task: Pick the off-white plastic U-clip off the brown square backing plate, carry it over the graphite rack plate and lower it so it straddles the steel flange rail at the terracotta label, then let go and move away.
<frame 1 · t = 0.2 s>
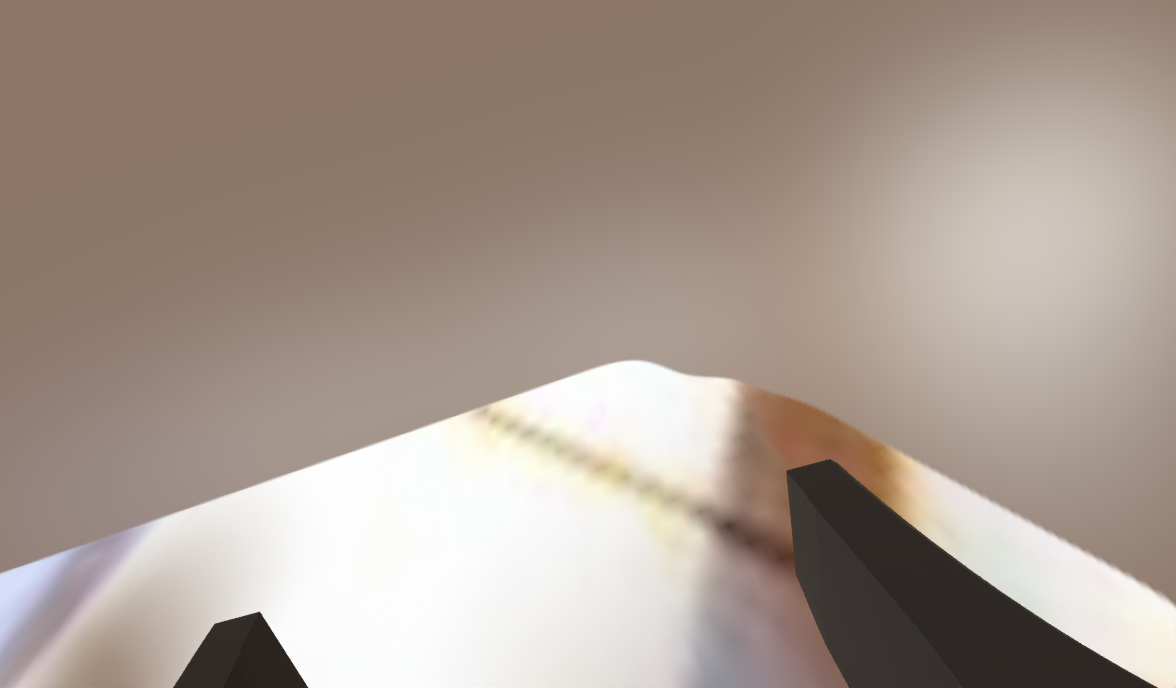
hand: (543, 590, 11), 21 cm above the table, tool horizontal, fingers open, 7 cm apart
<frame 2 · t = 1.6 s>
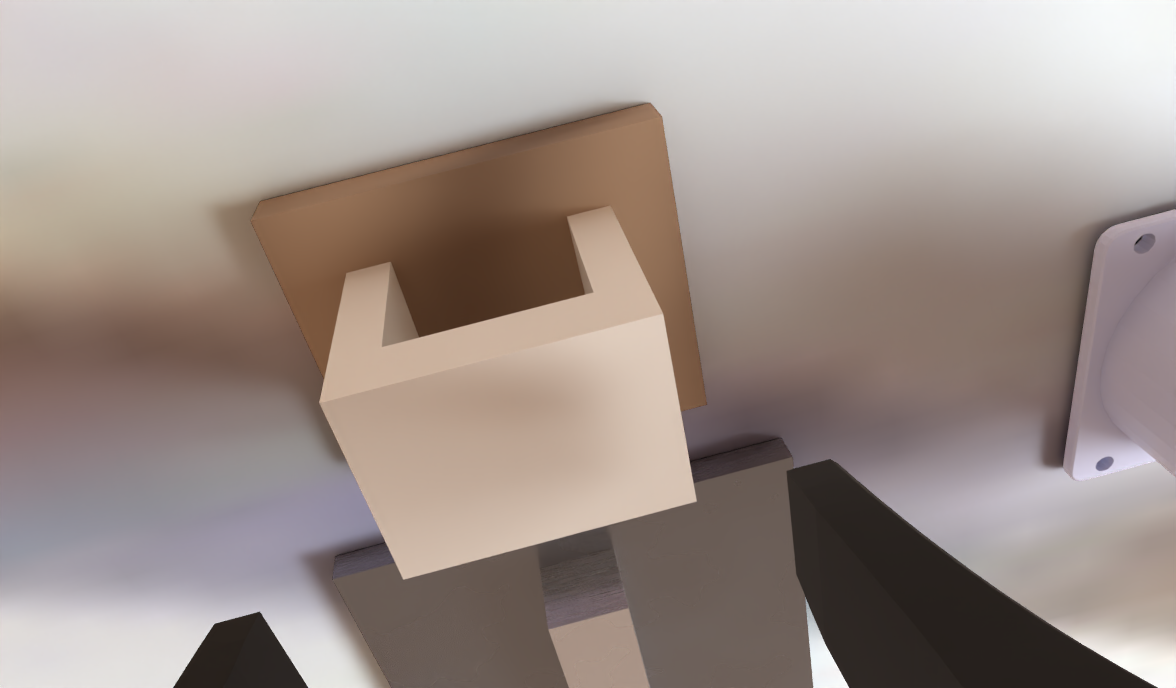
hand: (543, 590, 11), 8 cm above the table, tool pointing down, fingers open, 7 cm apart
brown square backing plate: (501, 301, 18), on the table
u clip: (504, 323, 17), point 1 cm above the table, touching brown square backing plate
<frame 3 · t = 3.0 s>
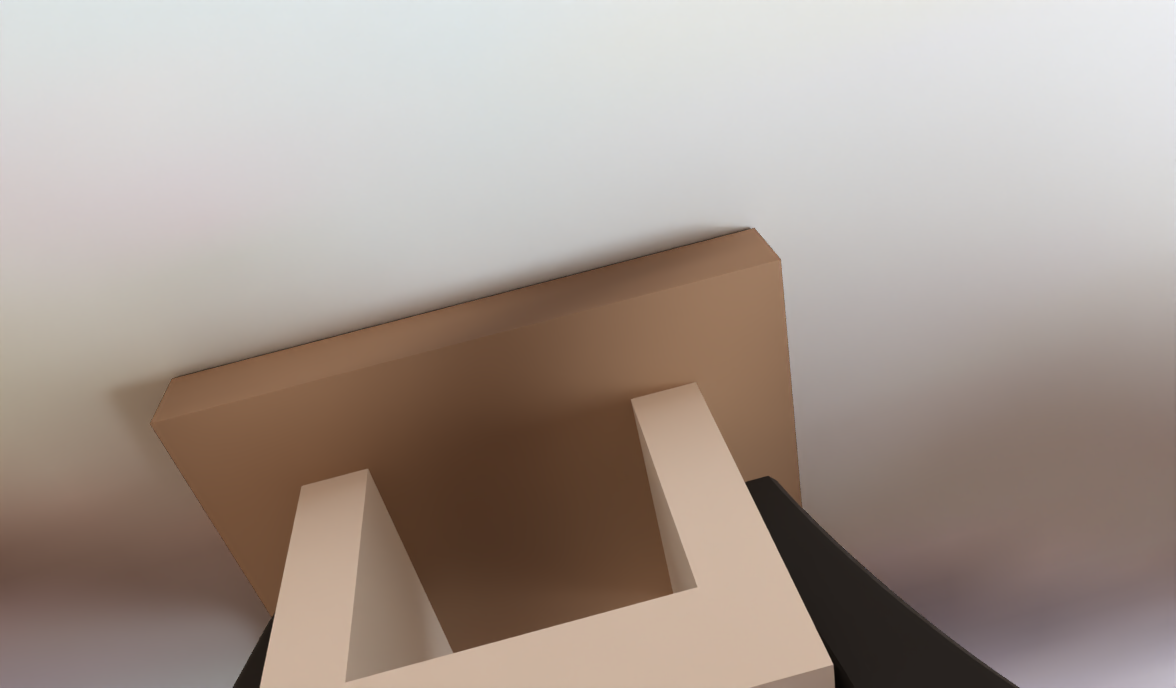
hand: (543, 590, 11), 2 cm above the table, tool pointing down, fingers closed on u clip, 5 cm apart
brown square backing plate: (528, 492, 13), on the table
u clip: (535, 538, 12), point 1 cm above the table, touching gripper, brown square backing plate
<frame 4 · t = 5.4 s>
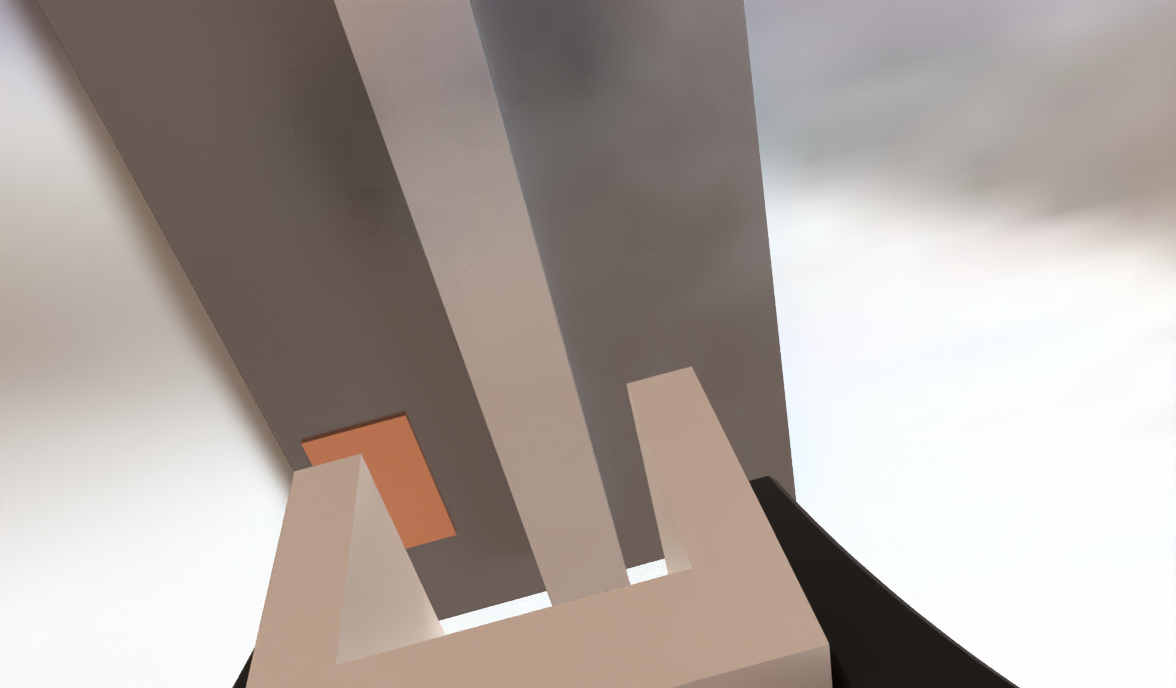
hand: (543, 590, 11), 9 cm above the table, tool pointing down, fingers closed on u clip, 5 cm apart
rack: (504, 290, 19), on the table
u clip: (530, 525, 12), point 8 cm above the table, touching gripper
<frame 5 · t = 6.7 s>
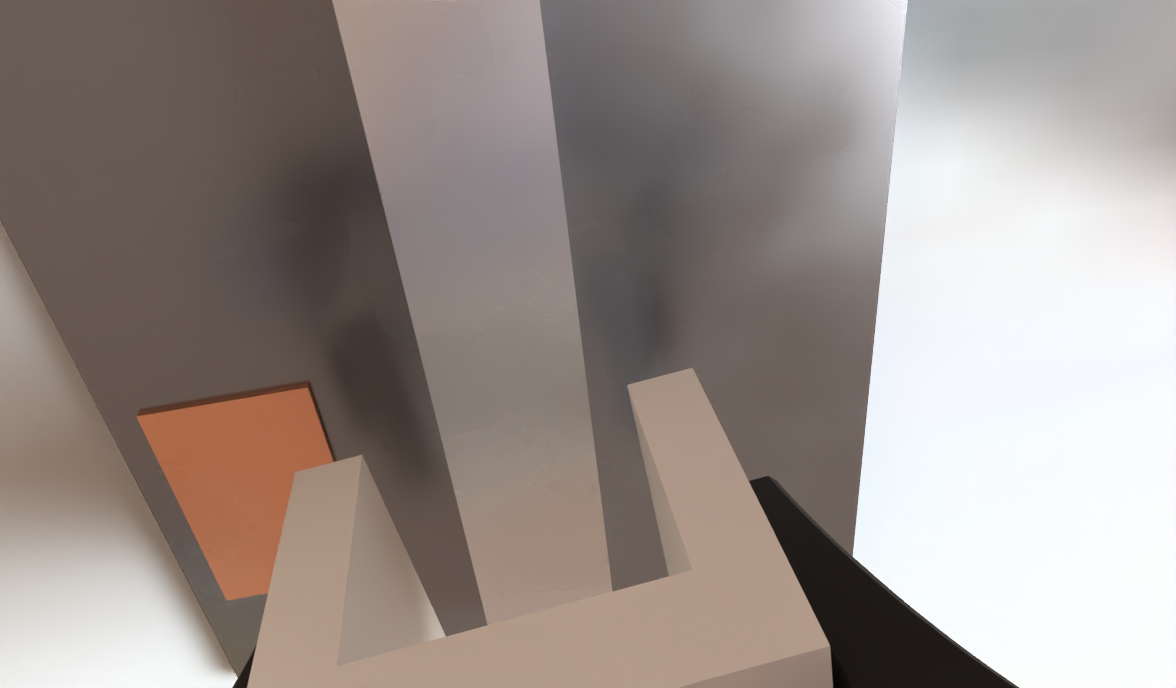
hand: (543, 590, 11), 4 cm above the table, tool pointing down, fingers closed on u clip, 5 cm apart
rack: (481, 209, 12), on the table
u clip: (531, 526, 12), point 3 cm above the table, touching gripper
when the fingers open (3 cm above the table, at t = 7.9 s): u clip stays where it is, resting on rack.
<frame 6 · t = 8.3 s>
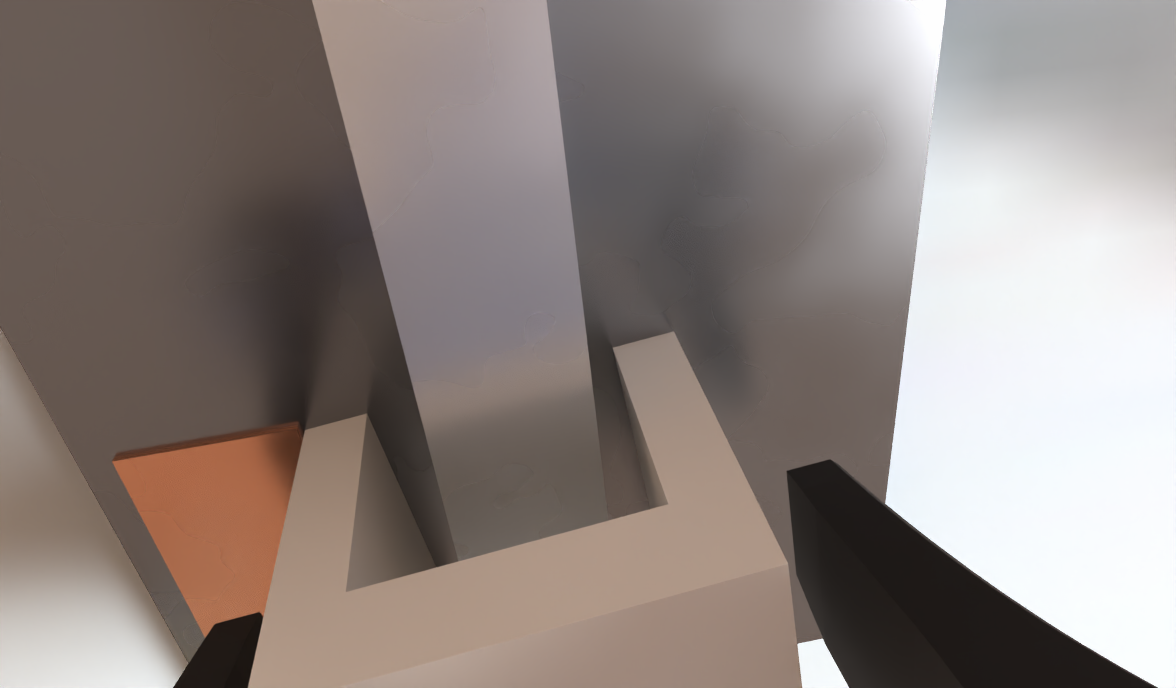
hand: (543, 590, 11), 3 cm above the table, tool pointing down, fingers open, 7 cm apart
rack: (483, 238, 11), on the table
u clip: (525, 483, 13), point 1 cm above the table, touching rack
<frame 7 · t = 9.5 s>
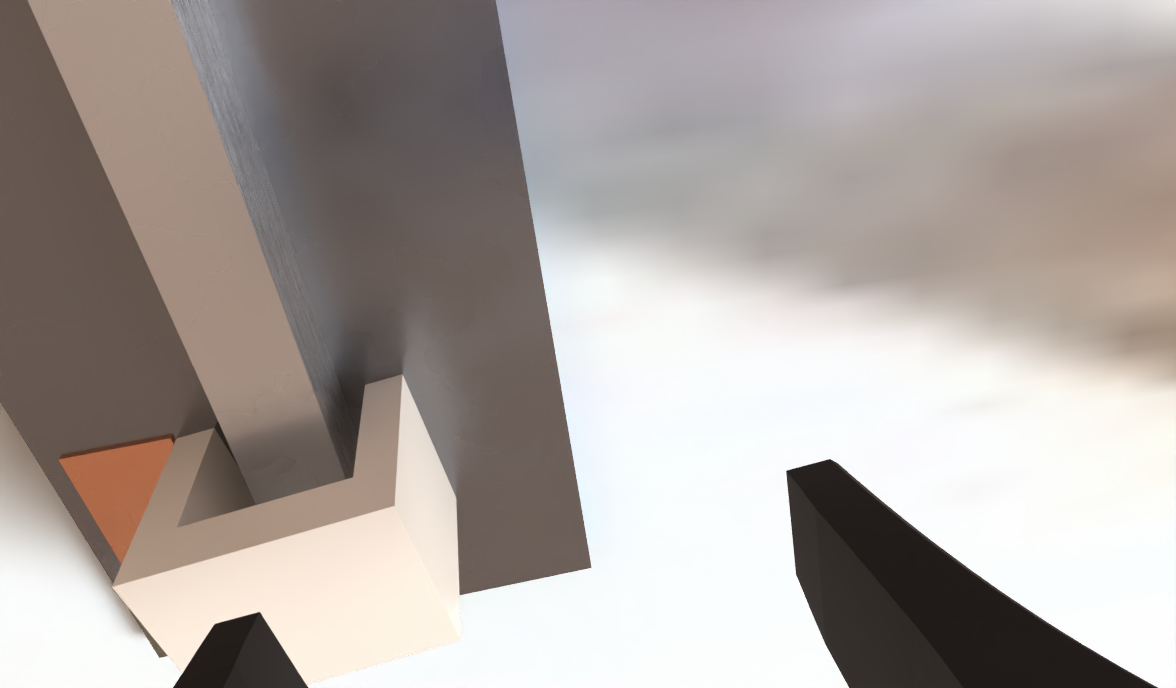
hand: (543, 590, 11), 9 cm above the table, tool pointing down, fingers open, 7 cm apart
rack: (280, 320, 19), on the table
u clip: (324, 469, 20), point 1 cm above the table, touching rack
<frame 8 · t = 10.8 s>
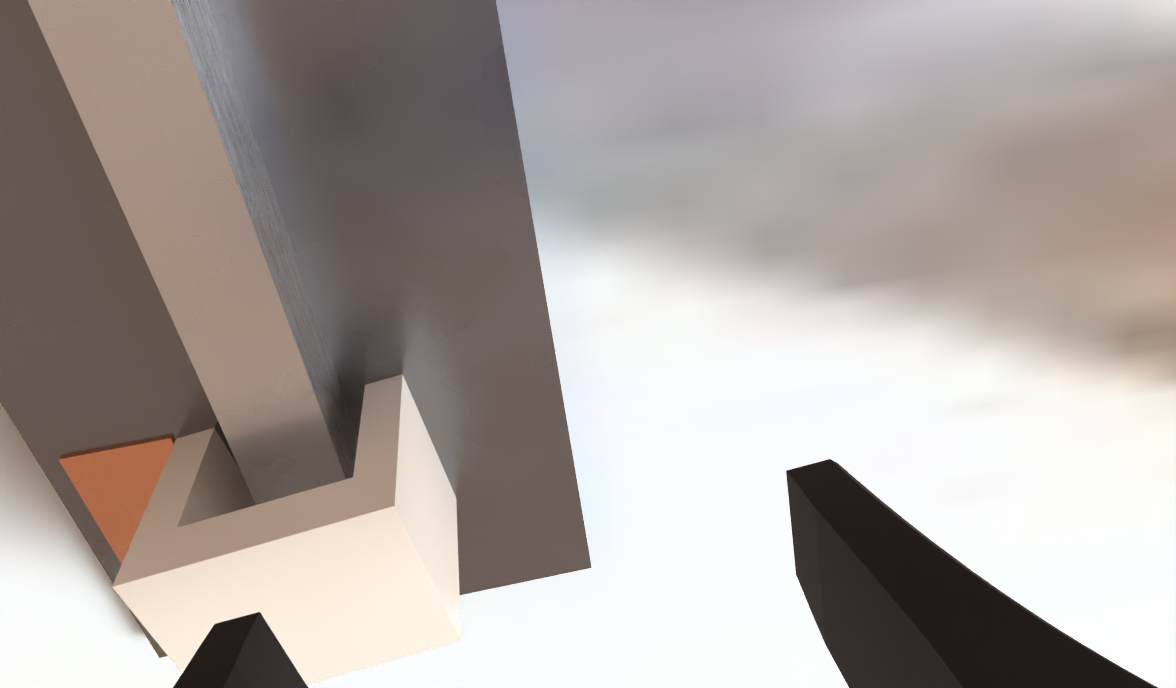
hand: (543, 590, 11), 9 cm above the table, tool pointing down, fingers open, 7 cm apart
rack: (281, 320, 19), on the table
u clip: (324, 469, 20), point 1 cm above the table, touching rack
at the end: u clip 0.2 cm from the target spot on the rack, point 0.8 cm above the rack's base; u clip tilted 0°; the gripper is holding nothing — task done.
